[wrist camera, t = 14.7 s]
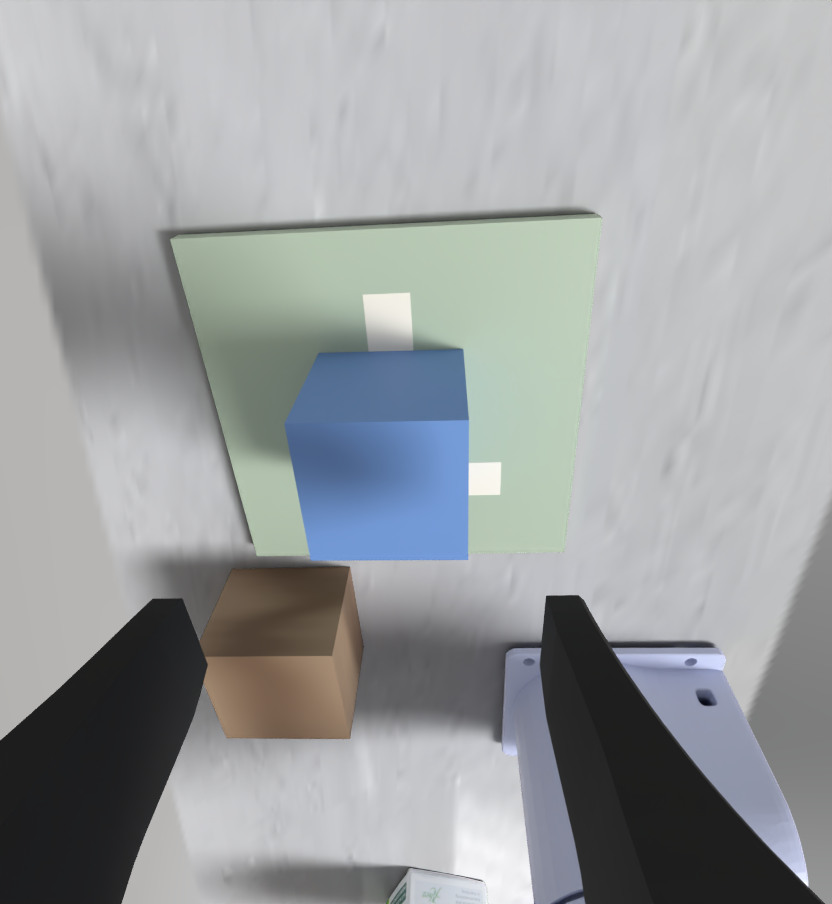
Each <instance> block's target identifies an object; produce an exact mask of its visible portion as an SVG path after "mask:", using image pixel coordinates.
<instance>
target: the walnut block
mask: <svg viewBox="0 0 832 904" xmlns="http://www.w3.org/2000/svg"><path fill="white" fill-rule="evenodd" d="M199 643H200V645H201V648H202V651H203V653H204V656H205V658H206V661H207V663H208V667H207V671H206V674H205V678H204V682H203V683H204V685H205V688H206V690H207V692H208V695H209V697H210V700H211V702H212V704H213V707H214V709H215V711H216V714H217V716H218V719H219V721H220V723H221V726H222V728H223V731H224V733H225V735H226V738H287V739H350V736H351V729H352V722H353V715H354V708H355V702H356V695H357V688H358V681H359V674H360V668H361V661H362V654H363V647H364V646H363V640H362V635H361V629H360V623H359V617H358V611H357V605H356V599H355V593H354V587H353V582H352V576H351V570H350V567H312V568H255V569H232V570H231V573H230V575H229V577H228V579H227V582H226V584H225V586H224V588H223V590H222V593H221V595H220V597H219V599H218V602H217V604H216V606H215V608H214V610H213V613H212V615H211V617H210V619H209V621H208V624H207V626H206V628H205V630H204V633H203V635H202V637H201V639H200V641H199Z"/></svg>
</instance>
